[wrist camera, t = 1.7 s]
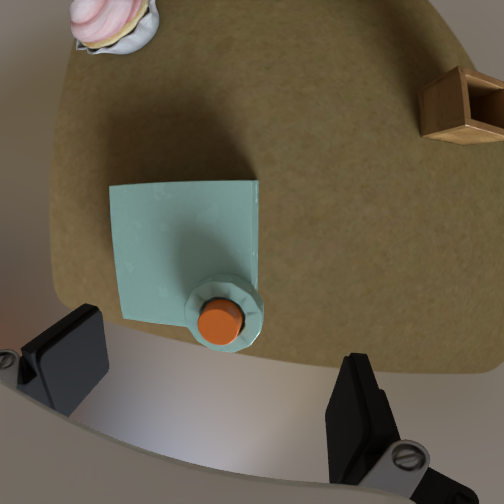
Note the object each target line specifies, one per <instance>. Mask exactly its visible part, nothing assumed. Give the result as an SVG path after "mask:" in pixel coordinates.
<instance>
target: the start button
mask: <svg viewBox="0 0 504 504" xmlns="http://www.w3.org/2000/svg"><path fill="white" fill-rule="evenodd" d="M241 324H242V314H241V312H240V310H239V309H238V307H237V306H236V305H235V304H233V303H232V302H230V301H228V300H223V299H218V300H214V301H212V302H210V303H209V304H208V305H207V306H206V307H205V309H204V310H203V312H202V313H201V315H200V316H199V318H198V323H197V325H198V330H199V332H200V334H201V336H202V337H203V338H204V339H205V340H206V341H208V342H210V343H212V344H215V345H226V344H229V343H231V342H232V341H234V340H235V338H236V337H237V335H238V332H239V330H240V327H241Z"/></svg>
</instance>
